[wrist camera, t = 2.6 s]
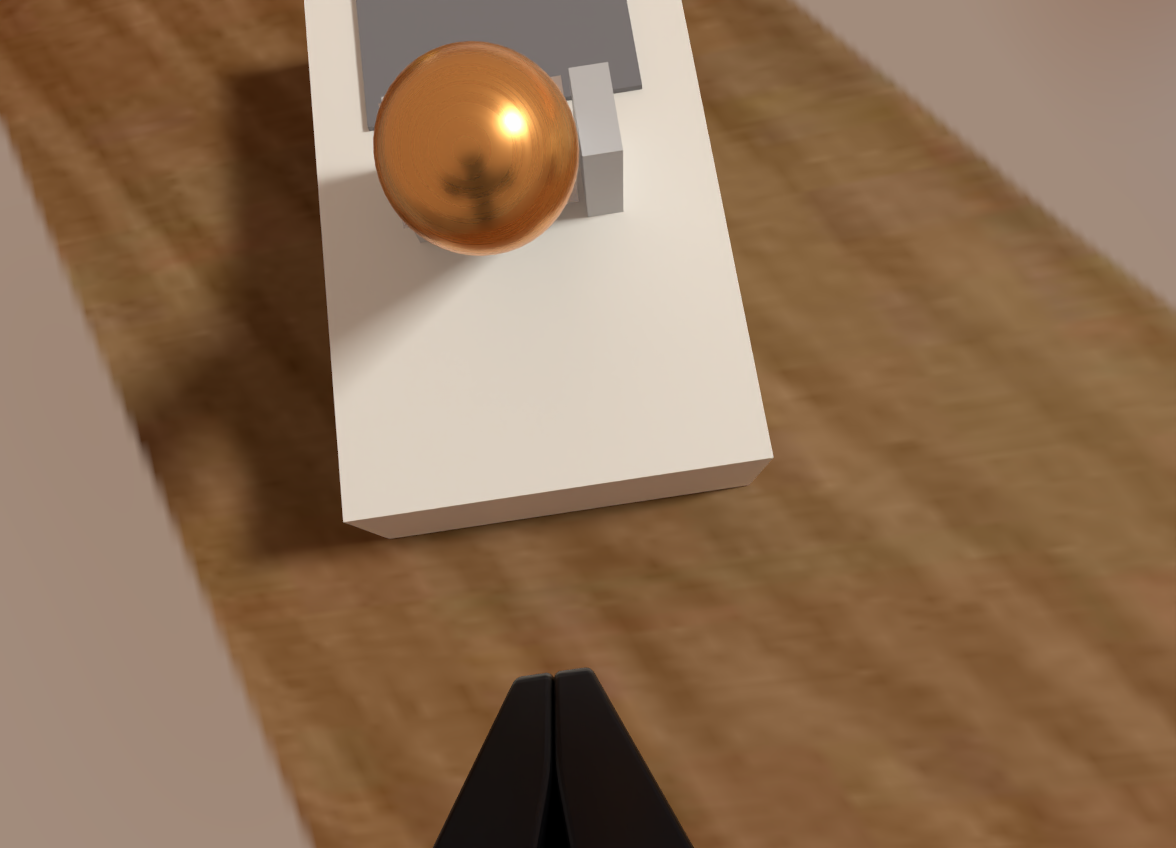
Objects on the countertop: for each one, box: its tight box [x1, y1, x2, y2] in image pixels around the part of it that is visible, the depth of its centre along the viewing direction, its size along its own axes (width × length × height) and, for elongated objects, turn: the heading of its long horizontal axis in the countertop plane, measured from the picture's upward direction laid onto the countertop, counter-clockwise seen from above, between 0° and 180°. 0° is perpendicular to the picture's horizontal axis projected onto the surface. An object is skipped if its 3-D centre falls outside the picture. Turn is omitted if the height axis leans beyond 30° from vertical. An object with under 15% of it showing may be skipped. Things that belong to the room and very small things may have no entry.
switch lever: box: [373, 41, 579, 256], centre depth 14 cm, size 3×3×10 cm
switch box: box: [304, 0, 773, 539], centre depth 19 cm, size 14×9×6 cm, turn 8°
